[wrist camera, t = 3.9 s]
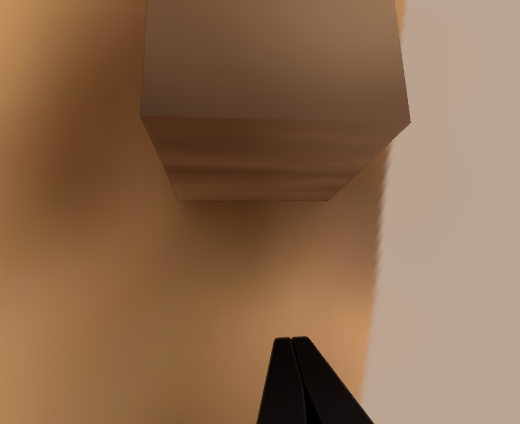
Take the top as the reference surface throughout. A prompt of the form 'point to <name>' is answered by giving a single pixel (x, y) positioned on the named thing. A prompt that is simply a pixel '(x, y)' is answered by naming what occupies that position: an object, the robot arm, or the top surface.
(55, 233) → the top surface
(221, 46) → the walnut block
